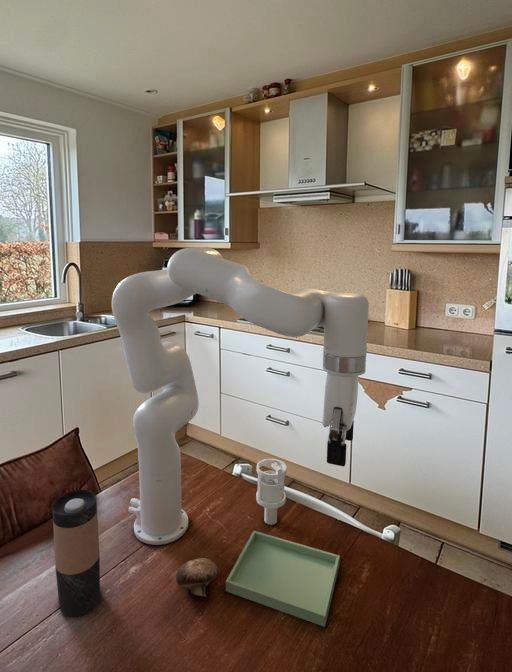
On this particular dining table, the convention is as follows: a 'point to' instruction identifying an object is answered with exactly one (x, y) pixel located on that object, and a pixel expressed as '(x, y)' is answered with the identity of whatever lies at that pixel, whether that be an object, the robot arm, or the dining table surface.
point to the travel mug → (76, 552)
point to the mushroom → (197, 575)
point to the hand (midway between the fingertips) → (340, 450)
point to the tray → (285, 577)
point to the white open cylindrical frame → (271, 489)
